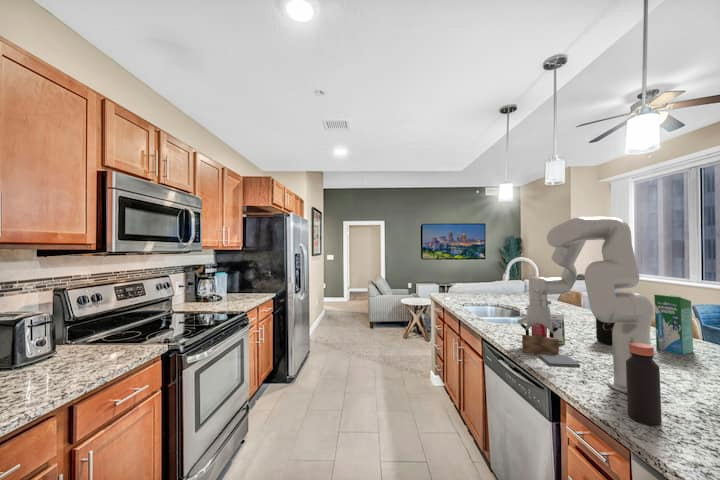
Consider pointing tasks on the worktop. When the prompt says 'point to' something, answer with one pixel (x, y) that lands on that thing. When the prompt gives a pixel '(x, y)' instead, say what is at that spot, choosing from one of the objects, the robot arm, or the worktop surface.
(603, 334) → the coffee jar
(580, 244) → the robot arm
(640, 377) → the bottle
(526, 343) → the brown wooden block
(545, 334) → the beverage can
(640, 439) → the worktop surface
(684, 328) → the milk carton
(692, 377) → the worktop surface
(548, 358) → the mat
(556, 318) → the syrup box
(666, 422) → the worktop surface
